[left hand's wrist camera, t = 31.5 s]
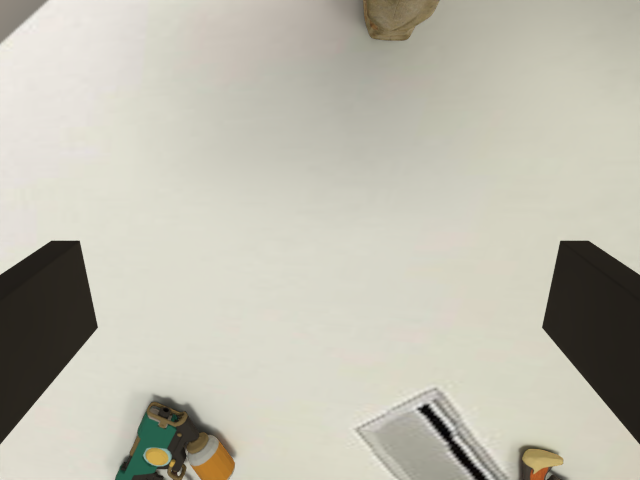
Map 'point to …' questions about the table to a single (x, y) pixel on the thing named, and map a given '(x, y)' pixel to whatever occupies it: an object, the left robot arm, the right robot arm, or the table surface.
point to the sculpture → (396, 17)
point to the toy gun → (539, 464)
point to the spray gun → (174, 449)
